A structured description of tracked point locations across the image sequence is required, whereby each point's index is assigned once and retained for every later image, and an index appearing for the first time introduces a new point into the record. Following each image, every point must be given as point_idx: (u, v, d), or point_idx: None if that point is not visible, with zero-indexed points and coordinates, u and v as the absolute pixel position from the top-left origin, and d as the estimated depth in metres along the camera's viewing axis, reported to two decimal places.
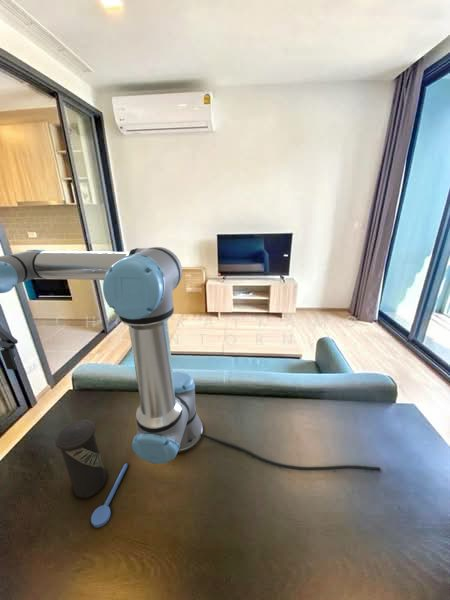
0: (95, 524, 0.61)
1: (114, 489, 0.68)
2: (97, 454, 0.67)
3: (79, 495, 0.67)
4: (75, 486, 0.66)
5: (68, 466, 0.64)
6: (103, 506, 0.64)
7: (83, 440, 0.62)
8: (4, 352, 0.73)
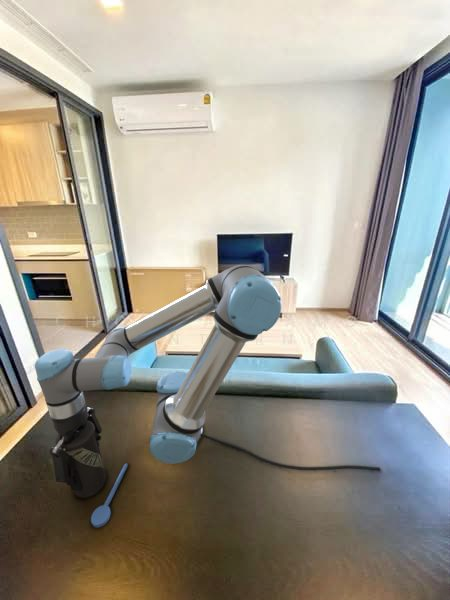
0: (95, 524, 0.61)
1: (114, 489, 0.68)
2: (97, 454, 0.67)
3: (79, 495, 0.67)
4: None
5: None
6: (103, 506, 0.64)
7: (83, 440, 0.62)
8: None
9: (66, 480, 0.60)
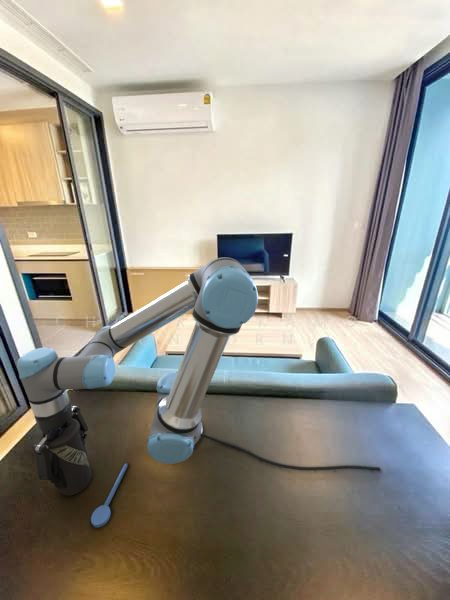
0: (95, 524, 0.61)
1: (114, 489, 0.68)
2: (82, 452, 0.68)
3: (64, 493, 0.67)
4: None
5: None
6: (103, 506, 0.64)
7: (67, 438, 0.62)
8: None
9: (49, 478, 0.60)
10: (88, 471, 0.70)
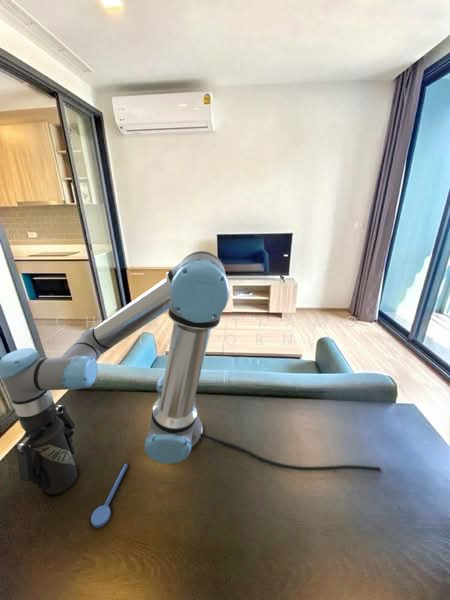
0: (95, 524, 0.61)
1: (114, 489, 0.68)
2: (66, 451, 0.68)
3: (48, 491, 0.68)
4: None
5: None
6: (103, 506, 0.64)
7: (50, 437, 0.63)
8: None
9: (30, 478, 0.60)
10: (73, 470, 0.71)
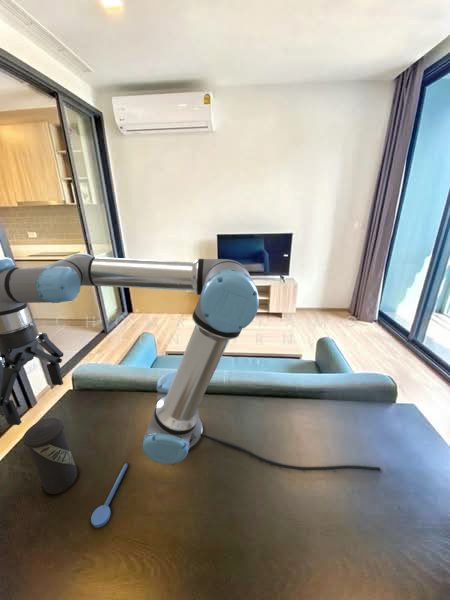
0: (95, 524, 0.61)
1: (114, 489, 0.68)
2: (66, 451, 0.68)
3: (48, 491, 0.68)
4: (44, 483, 0.67)
5: (36, 463, 0.65)
6: (103, 506, 0.64)
7: (50, 437, 0.63)
8: (50, 366, 0.67)
9: None
10: (73, 470, 0.71)
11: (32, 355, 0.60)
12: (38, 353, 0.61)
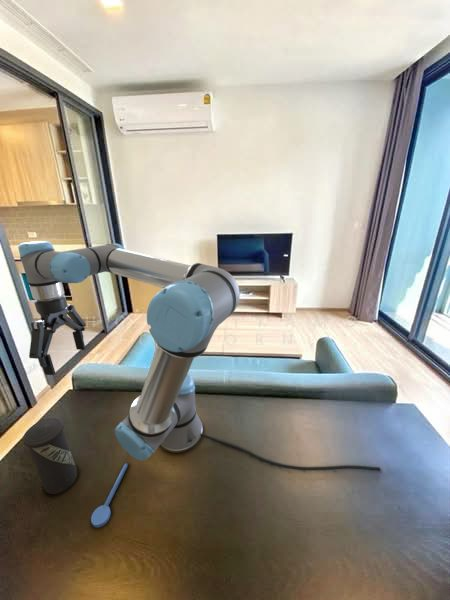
0: (95, 524, 0.61)
1: (114, 489, 0.68)
2: (66, 451, 0.68)
3: (48, 491, 0.68)
4: (44, 483, 0.67)
5: (36, 463, 0.65)
6: (103, 506, 0.64)
7: (50, 437, 0.63)
8: (76, 334, 0.82)
9: (38, 356, 0.66)
10: (73, 470, 0.71)
11: (63, 321, 0.75)
12: (68, 320, 0.76)
